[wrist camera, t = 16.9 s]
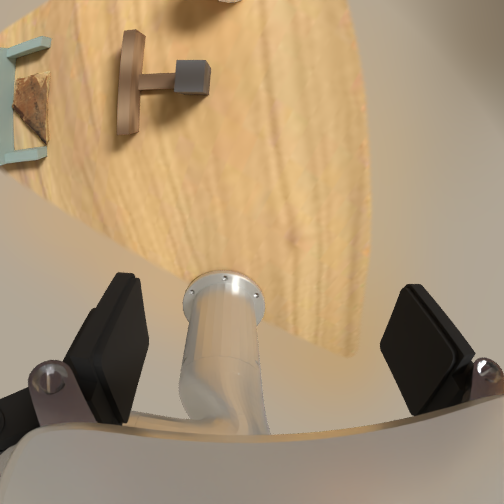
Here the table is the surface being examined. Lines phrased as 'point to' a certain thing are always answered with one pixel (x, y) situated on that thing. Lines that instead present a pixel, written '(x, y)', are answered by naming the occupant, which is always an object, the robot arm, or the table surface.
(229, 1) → the shot glass
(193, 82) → the wall doorstop
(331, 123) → the table surface
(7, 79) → the bracket
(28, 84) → the shard
